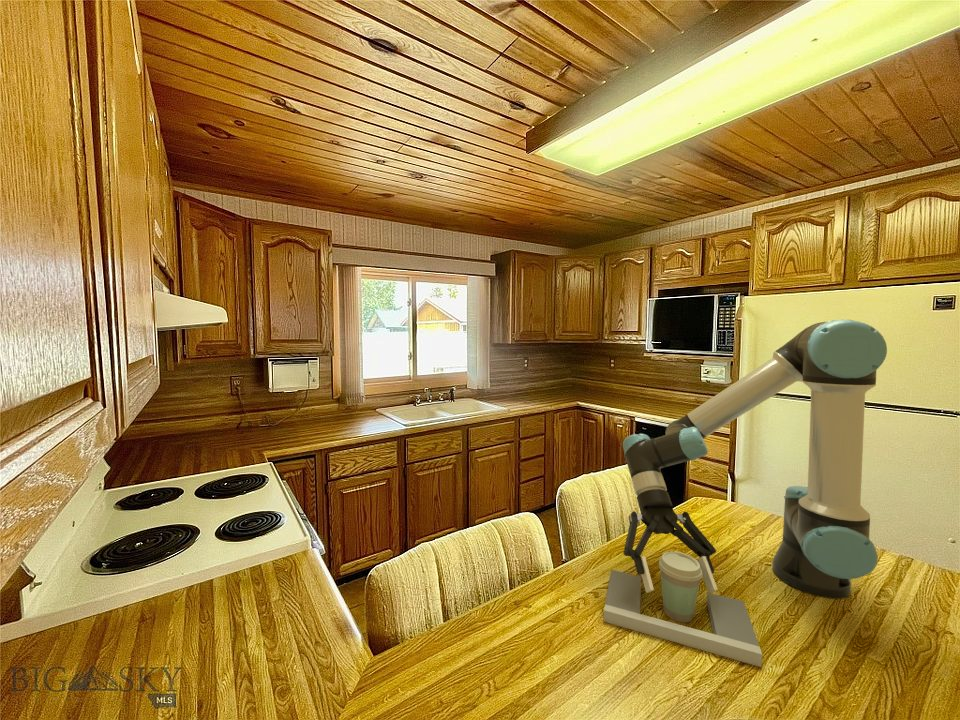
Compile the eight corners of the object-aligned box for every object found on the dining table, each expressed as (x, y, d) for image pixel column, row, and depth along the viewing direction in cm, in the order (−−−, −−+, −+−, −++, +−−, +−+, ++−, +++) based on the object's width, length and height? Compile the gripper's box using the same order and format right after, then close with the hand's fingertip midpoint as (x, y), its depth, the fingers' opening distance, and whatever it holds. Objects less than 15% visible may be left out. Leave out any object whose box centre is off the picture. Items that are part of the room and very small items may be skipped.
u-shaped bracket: (743, 611, 87) (743, 600, 87) (761, 667, 72) (762, 654, 72) (610, 579, 98) (611, 569, 98) (603, 621, 83) (604, 610, 83)
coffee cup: (706, 630, 81) (709, 575, 80) (662, 624, 83) (665, 570, 82) (692, 602, 90) (694, 552, 89) (652, 597, 91) (654, 548, 90)
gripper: (694, 499, 101) (730, 594, 87) (598, 499, 100) (618, 595, 86) (708, 487, 95) (748, 586, 81) (606, 487, 94) (629, 587, 80)
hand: (681, 591), depth 83 cm, fingers open, 13 cm apart
